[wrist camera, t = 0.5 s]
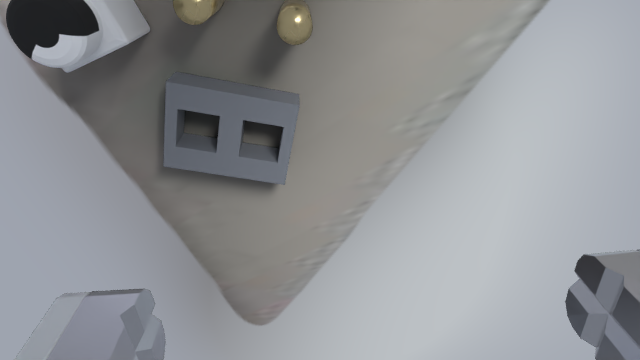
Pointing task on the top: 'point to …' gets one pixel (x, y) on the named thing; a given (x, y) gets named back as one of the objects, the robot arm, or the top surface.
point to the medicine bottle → (73, 29)
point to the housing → (228, 128)
